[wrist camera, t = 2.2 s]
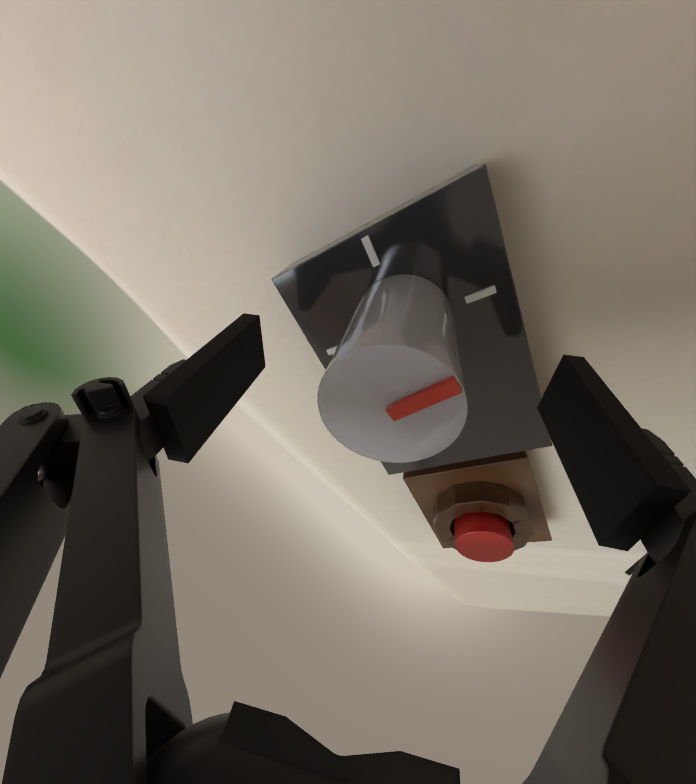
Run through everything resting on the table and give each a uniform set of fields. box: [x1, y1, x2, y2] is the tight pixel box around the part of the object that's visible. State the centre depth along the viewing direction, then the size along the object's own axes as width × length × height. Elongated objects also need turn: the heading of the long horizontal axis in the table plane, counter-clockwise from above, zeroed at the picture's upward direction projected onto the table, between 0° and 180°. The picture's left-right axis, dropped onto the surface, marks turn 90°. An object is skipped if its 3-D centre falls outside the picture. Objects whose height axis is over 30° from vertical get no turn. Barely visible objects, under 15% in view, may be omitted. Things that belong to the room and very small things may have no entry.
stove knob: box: [318, 274, 468, 463], centre depth 14 cm, size 5×5×8 cm
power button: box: [454, 511, 514, 562], centre depth 24 cm, size 4×4×2 cm
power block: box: [403, 451, 552, 550], centre depth 26 cm, size 10×9×4 cm
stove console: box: [272, 164, 552, 475], centre depth 20 cm, size 16×11×3 cm
